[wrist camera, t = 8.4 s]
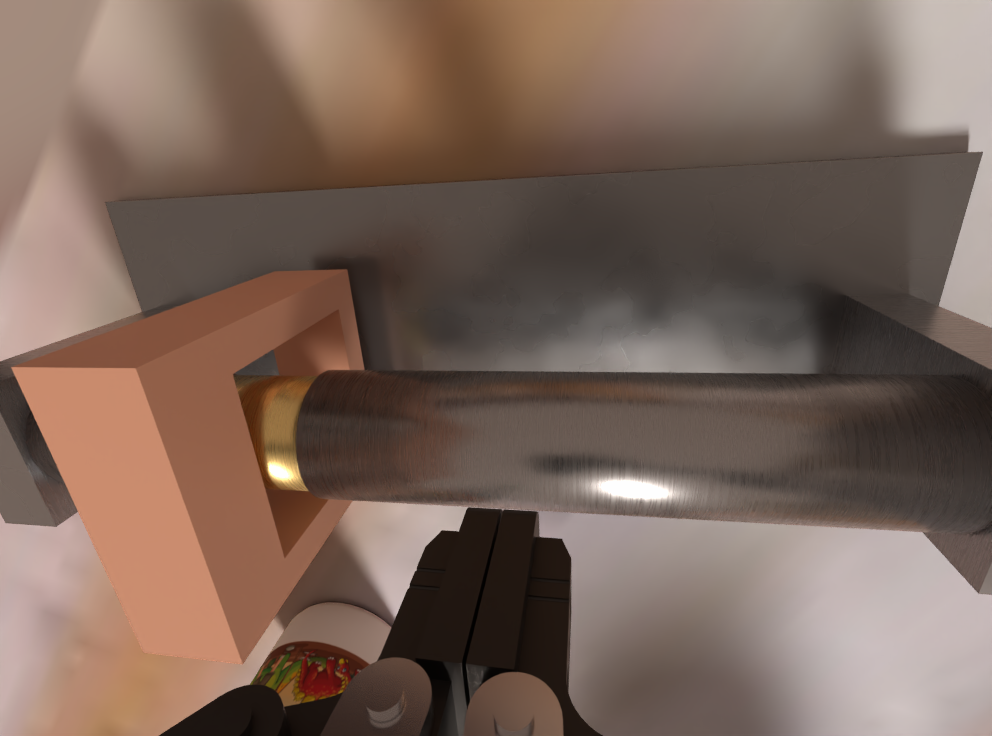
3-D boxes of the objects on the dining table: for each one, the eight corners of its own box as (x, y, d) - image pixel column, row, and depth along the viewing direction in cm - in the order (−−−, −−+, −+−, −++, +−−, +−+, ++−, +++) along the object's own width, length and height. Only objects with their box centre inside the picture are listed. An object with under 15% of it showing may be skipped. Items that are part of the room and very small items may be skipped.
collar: (347, 269, 19) (135, 368, 10) (379, 459, 22) (242, 664, 13) (274, 271, 19) (11, 367, 10) (317, 457, 22) (143, 652, 13)
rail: (969, 152, 16) (1397, 143, 8) (870, 507, 21) (1057, 733, 13) (117, 201, 21) (-183, 227, 13) (207, 474, 27) (36, 619, 18)
